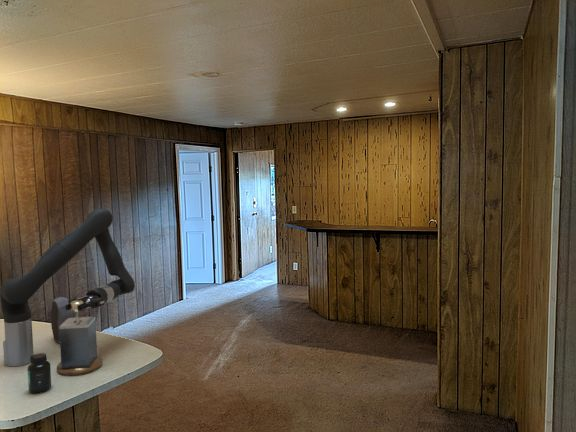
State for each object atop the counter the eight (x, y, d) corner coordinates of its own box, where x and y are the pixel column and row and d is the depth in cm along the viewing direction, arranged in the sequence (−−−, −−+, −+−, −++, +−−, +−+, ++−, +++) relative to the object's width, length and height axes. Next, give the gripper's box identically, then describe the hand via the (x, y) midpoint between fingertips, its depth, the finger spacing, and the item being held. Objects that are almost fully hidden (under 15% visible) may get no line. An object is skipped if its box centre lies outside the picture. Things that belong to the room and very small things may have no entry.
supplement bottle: (26, 395, 147) (24, 360, 146) (31, 386, 154) (29, 353, 153) (48, 392, 149) (47, 358, 148) (53, 383, 156) (51, 350, 155)
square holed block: (50, 377, 160) (47, 329, 159) (65, 359, 176) (62, 316, 174) (96, 374, 163) (94, 327, 161) (107, 357, 178) (105, 313, 177)
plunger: (67, 363, 165) (64, 305, 163) (73, 356, 172) (70, 300, 170) (86, 362, 166) (83, 304, 164) (91, 355, 173) (89, 299, 171)
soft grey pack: (50, 338, 201) (48, 295, 199) (70, 333, 206) (68, 291, 204) (60, 347, 189) (57, 301, 188) (80, 342, 195) (78, 298, 193)
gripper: (84, 286, 182) (55, 297, 166) (115, 287, 180) (88, 299, 163) (85, 304, 183) (56, 316, 166) (116, 305, 180) (89, 318, 163)
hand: (72, 308), depth 165 cm, fingers closed on plunger, 4 cm apart
